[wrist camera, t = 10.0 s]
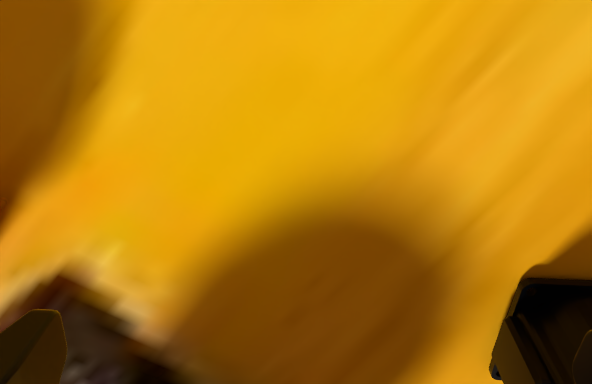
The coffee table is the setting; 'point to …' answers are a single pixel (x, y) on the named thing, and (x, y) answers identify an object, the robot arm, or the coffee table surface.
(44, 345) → the robot arm
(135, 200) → the coffee table surface
